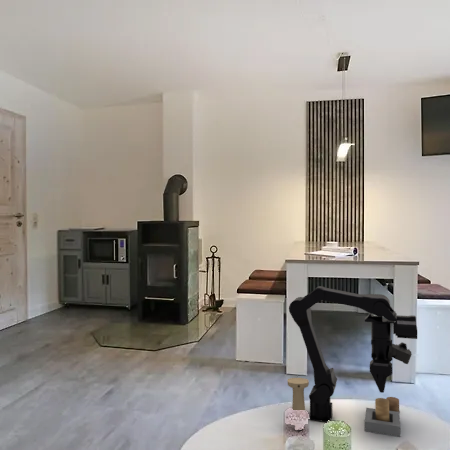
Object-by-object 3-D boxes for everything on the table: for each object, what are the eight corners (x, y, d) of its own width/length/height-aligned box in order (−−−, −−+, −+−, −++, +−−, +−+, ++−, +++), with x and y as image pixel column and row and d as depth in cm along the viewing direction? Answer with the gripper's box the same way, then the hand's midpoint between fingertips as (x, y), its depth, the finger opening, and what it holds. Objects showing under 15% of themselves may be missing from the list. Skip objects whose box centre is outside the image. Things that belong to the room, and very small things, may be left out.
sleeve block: (364, 431, 129) (364, 421, 129) (366, 416, 138) (366, 407, 138) (400, 436, 125) (400, 426, 125) (399, 421, 134) (399, 412, 134)
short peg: (386, 412, 140) (386, 400, 140) (386, 407, 144) (386, 396, 144) (399, 414, 139) (399, 402, 139) (399, 409, 143) (399, 397, 143)
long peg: (375, 428, 130) (375, 402, 130) (375, 422, 134) (375, 397, 134) (389, 430, 129) (389, 404, 129) (389, 424, 133) (389, 398, 133)
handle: (310, 433, 128) (309, 383, 128) (289, 432, 129) (288, 383, 129) (308, 425, 133) (307, 377, 133) (288, 425, 134) (287, 377, 133)
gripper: (410, 347, 120) (411, 402, 120) (408, 330, 137) (409, 378, 137) (369, 344, 124) (370, 397, 124) (371, 328, 141) (372, 375, 141)
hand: (382, 386), depth 131 cm, fingers open, 9 cm apart
